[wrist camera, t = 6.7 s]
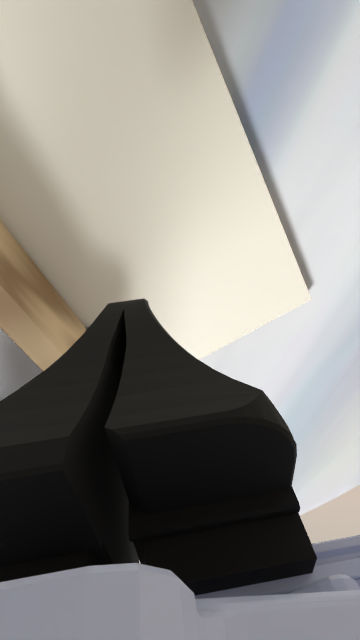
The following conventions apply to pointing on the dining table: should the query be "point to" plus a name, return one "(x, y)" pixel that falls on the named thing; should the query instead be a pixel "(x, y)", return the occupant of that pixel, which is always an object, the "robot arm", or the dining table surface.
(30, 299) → the tan wooden bar
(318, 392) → the dining table surface
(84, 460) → the robot arm
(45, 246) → the board
